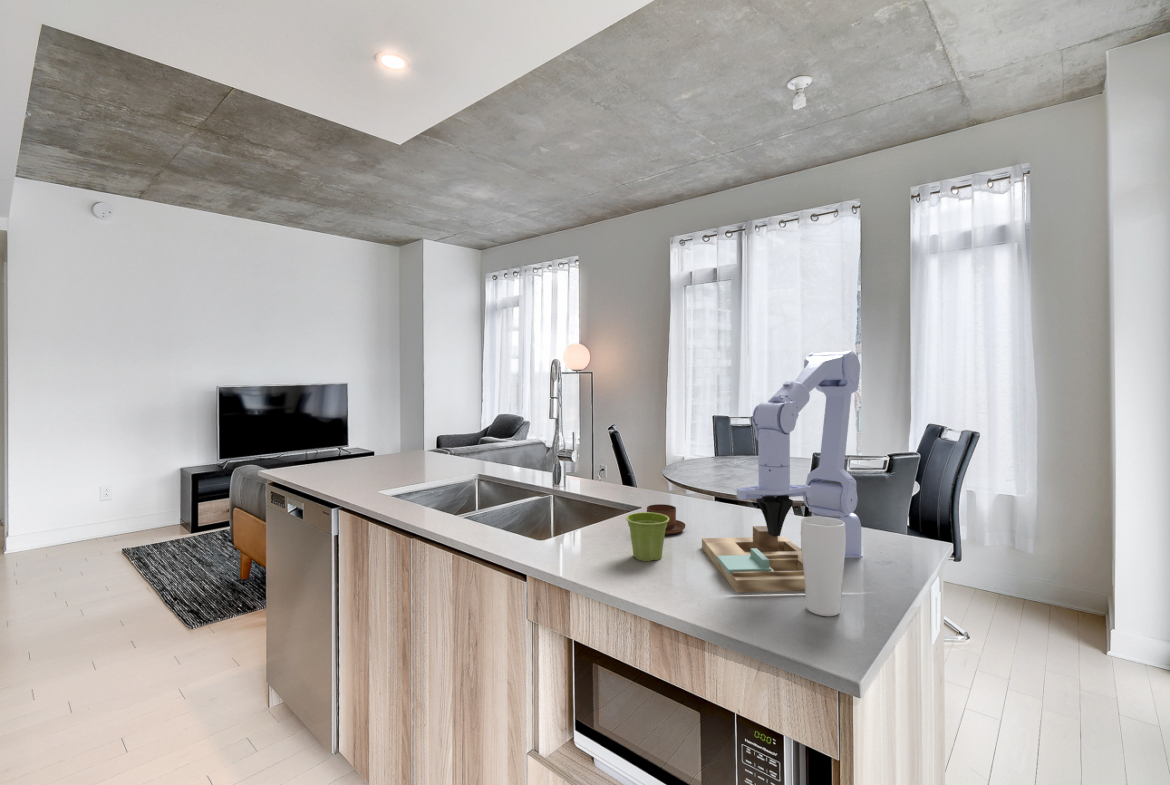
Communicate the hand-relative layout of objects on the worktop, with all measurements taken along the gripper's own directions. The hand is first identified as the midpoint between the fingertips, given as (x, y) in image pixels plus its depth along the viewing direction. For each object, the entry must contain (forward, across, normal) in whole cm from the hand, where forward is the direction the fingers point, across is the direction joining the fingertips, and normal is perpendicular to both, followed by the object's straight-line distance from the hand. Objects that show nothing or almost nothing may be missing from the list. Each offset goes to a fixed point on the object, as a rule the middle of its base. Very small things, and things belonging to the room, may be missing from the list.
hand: (774, 535), depth 106 cm
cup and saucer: (+9, +11, -36) cm, 39 cm away
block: (+8, -4, -11) cm, 15 cm away
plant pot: (+9, +20, -17) cm, 28 cm away
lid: (+6, +6, -1) cm, 8 cm away
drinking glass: (+9, 0, +15) cm, 18 cm away
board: (+8, -1, -6) cm, 10 cm away
